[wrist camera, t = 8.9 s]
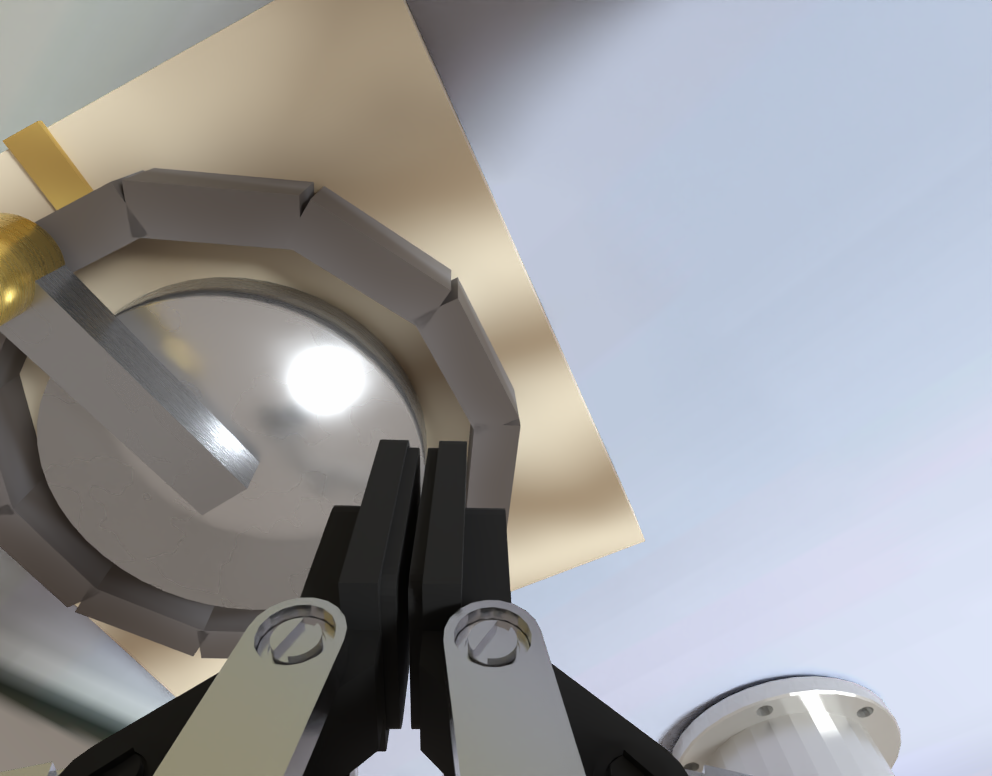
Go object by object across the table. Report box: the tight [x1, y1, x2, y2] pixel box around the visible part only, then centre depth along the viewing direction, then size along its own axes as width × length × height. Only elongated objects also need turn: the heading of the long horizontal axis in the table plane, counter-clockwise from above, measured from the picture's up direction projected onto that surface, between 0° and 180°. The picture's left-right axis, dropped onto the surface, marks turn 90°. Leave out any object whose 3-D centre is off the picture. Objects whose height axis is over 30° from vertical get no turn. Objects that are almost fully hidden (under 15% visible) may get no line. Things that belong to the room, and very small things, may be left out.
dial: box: [0, 213, 427, 610], centre depth 19 cm, size 16×12×6 cm
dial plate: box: [0, 0, 645, 697], centre depth 23 cm, size 22×22×4 cm
